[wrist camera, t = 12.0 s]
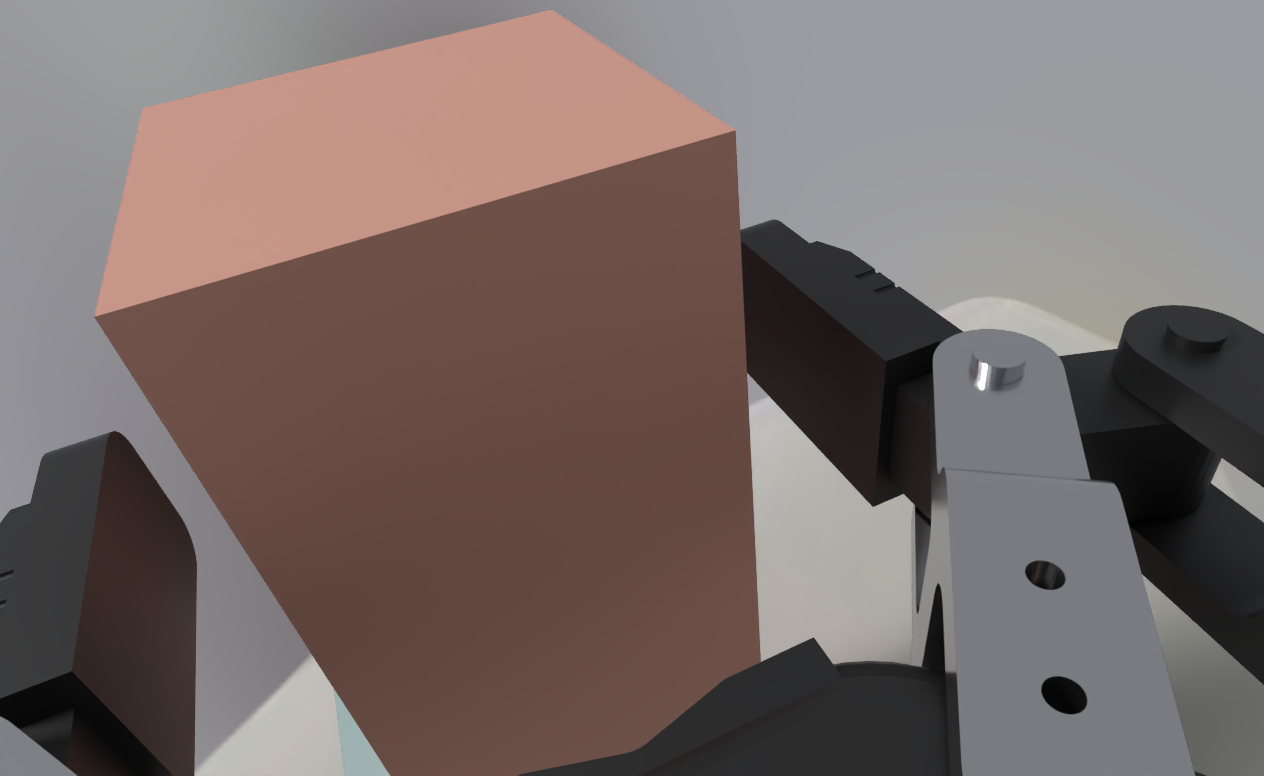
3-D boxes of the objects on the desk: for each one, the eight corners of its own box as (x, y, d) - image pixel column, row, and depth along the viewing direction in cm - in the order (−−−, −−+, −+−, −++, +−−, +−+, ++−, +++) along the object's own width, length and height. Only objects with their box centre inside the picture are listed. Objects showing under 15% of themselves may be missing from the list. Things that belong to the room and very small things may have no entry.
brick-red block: (493, 934, 13) (93, 317, 6) (431, 681, 17) (143, 108, 9) (767, 797, 14) (735, 131, 7) (653, 588, 18) (551, 9, 11)
